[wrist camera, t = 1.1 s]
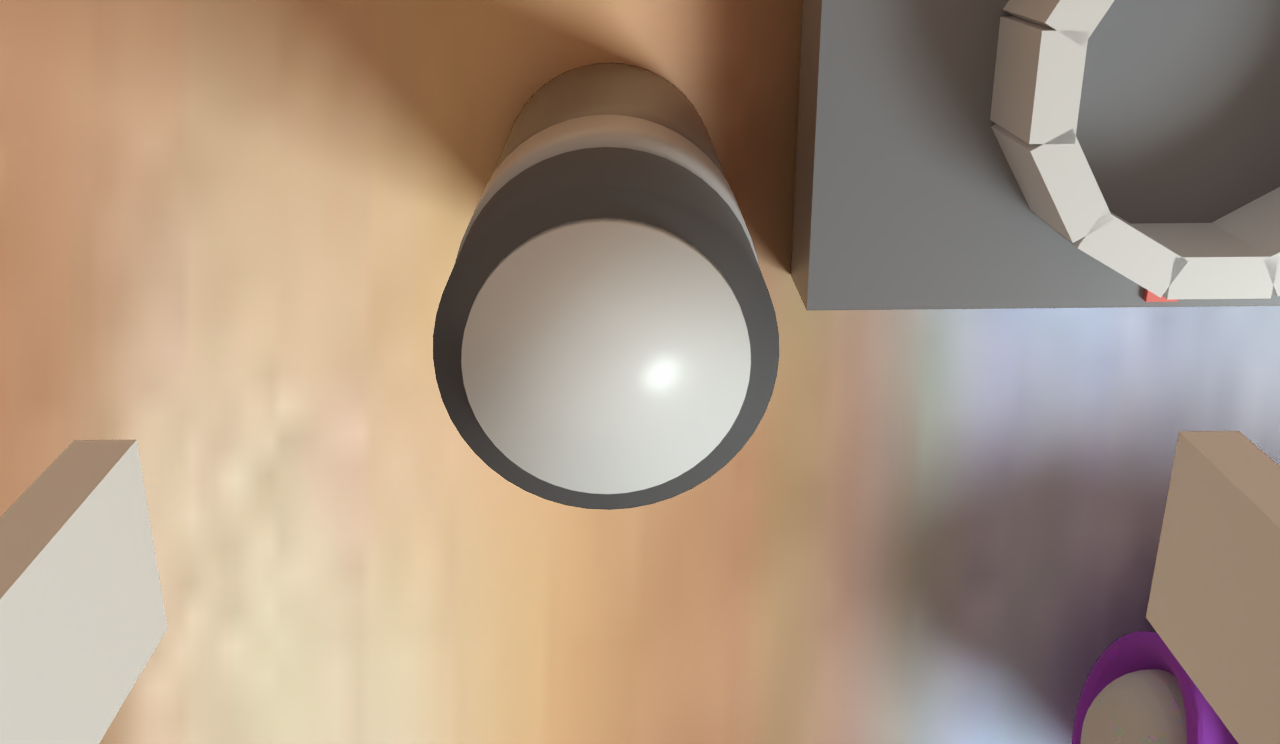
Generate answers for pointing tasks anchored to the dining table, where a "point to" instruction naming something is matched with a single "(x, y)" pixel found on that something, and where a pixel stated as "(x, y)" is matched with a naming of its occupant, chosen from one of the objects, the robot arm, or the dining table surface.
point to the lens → (606, 300)
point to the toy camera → (1144, 699)
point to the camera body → (1038, 154)
